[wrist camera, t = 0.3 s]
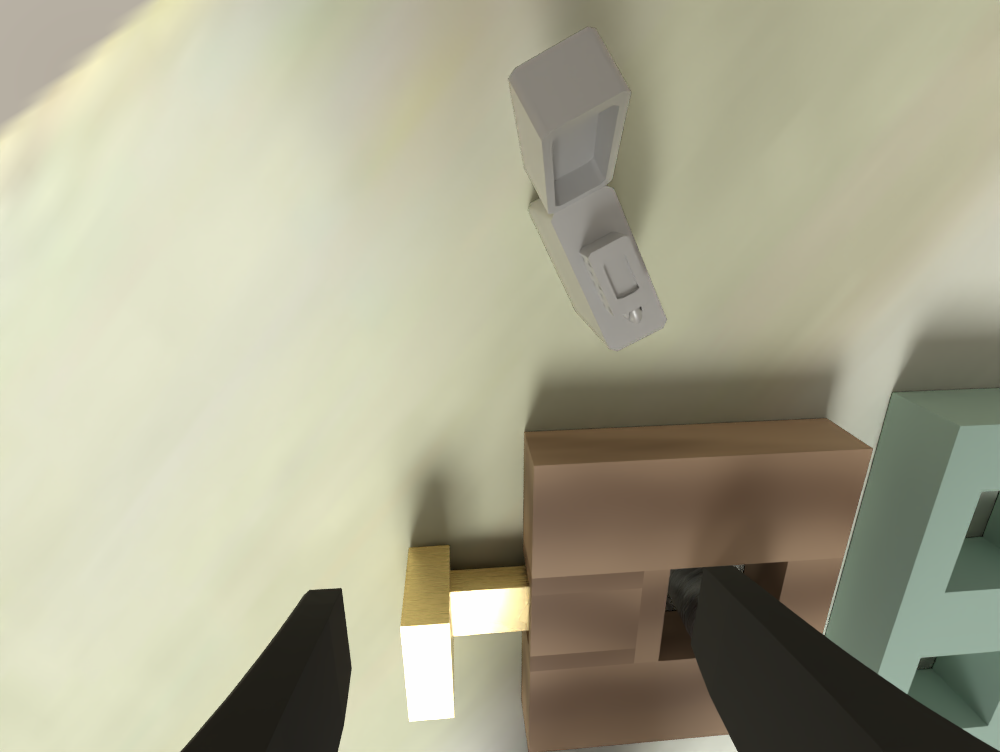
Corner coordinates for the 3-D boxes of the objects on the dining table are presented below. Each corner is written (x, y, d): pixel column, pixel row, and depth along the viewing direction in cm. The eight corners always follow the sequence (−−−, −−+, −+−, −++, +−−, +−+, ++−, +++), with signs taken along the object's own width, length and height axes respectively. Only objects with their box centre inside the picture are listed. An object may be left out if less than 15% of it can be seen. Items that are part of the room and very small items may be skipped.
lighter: (622, 292, 19) (737, 372, 11) (577, 315, 19) (660, 409, 11) (533, 86, 16) (605, 11, 9) (482, 114, 16) (509, 66, 9)
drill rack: (948, 703, 28) (1003, 763, 25) (802, 717, 27) (842, 779, 25) (1078, 384, 22) (1171, 415, 19) (892, 392, 21) (960, 426, 18)
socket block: (765, 678, 26) (796, 728, 24) (521, 699, 25) (528, 753, 23) (826, 418, 21) (873, 448, 19) (524, 432, 20) (533, 466, 18)
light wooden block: (543, 622, 23) (561, 707, 20) (415, 632, 23) (409, 721, 19) (545, 539, 22) (565, 615, 18) (409, 547, 21) (400, 627, 18)
